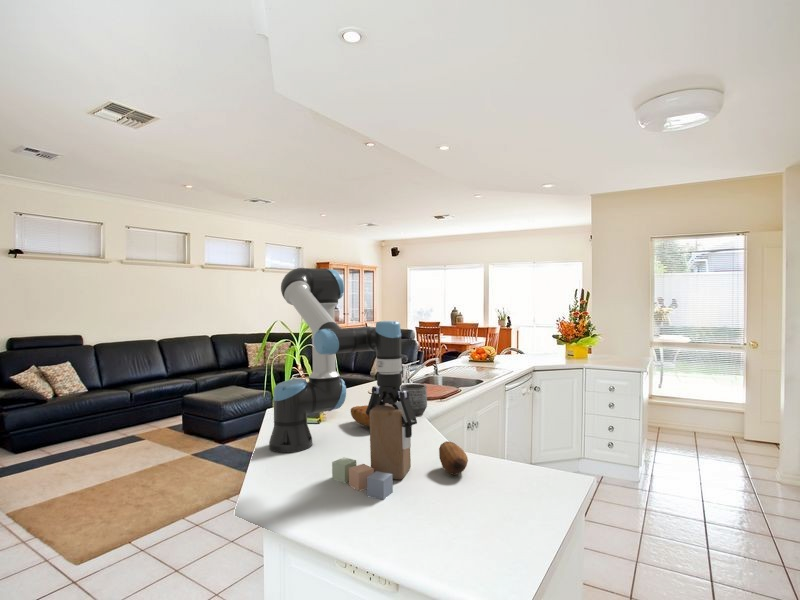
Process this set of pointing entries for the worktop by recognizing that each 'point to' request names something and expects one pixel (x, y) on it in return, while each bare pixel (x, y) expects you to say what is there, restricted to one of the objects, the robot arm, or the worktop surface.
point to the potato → (452, 458)
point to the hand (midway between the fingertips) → (390, 443)
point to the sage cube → (342, 469)
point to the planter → (417, 397)
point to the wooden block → (388, 441)
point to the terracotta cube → (359, 476)
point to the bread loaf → (360, 415)
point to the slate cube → (379, 485)
